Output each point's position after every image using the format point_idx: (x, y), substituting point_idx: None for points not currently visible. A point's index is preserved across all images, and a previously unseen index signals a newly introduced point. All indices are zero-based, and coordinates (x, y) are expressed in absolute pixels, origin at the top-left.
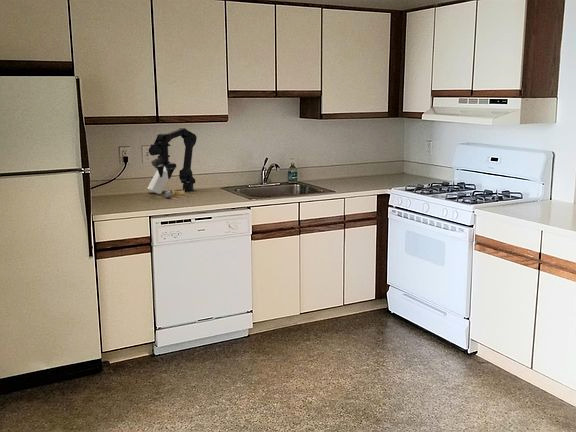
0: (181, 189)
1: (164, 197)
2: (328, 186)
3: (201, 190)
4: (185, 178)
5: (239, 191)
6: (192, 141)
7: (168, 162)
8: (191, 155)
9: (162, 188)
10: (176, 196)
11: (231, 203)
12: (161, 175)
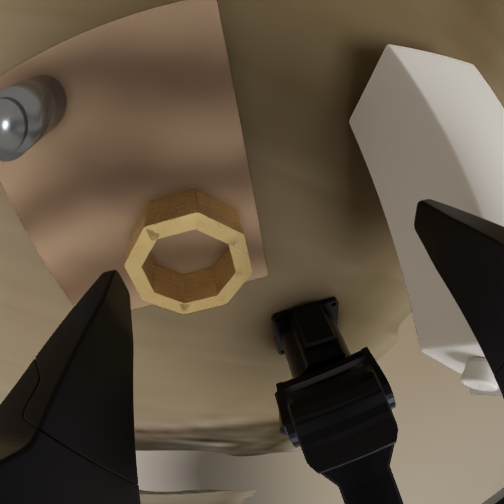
0: (215, 301)
1: (109, 76)
2: (155, 497)
3: None
4: (304, 405)
5: (177, 442)
6: None
7: None
8: None
9: (376, 170)
10: (108, 201)
11: None
12: (434, 239)
